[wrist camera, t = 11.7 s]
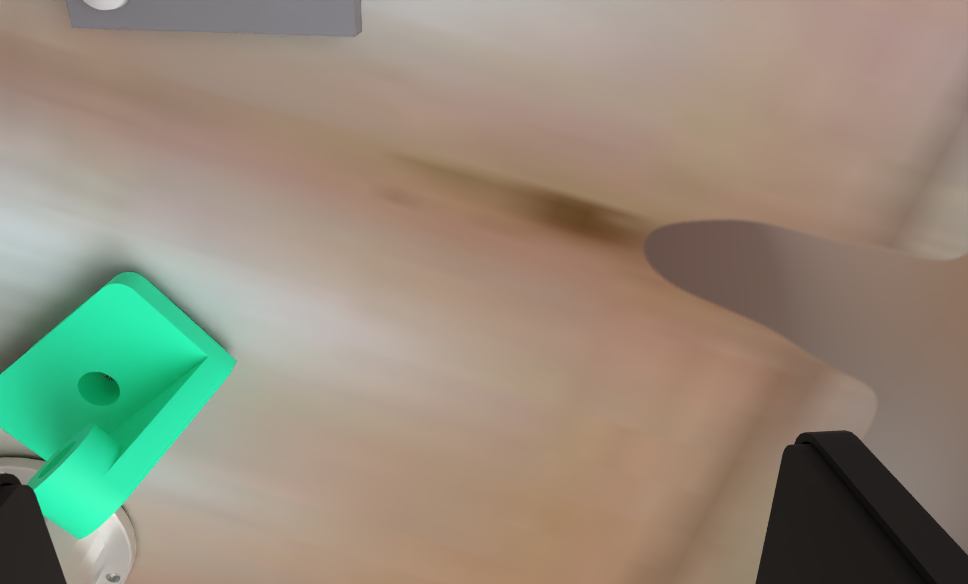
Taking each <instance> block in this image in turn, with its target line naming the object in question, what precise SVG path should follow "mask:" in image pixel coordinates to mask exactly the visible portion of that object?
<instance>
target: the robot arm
mask: <svg viewBox="0 0 968 584" xmlns="http://www.w3.org/2000/svg"><path fill="white" fill-rule="evenodd" d="M45 462H46V461H41V460H35V459H29V458H11V457H2V458H0V584H124V582H125V581H126V579H127V577H128V575H129V573H130V571H131V569H132V567H133V564H134V561H135V557H136V544H137V541H136V537H135V533H134V528H133V526H132V524H131V522H130V520H129V518H128V516H127V514H126V512H125V511H124V510H123V509H122V507H121V506H120V508H119V509H118V510H117V511H116V512H115V513H114V514H113V515H112V516H111V517H110V518H109V519H108V520H107V521H106V522H105V523H103V524H102V525H101V526H100V527H99V528H98V529H96V530H95V531H94V532H93V533H91V534H90V535H88V536H87V537H85V538H83V539H80V540H78V539H76V538H75V537H73V536H72V535H71V534H69V533H68V532H66V531H65V530H63V529H62V528H61V527H59V526H58V525H56V524H55V523H53V522H52V521H50V520H49V519H48V518H46V517H45V516H43V514H42V511H41V508H40V505H39V503H38V500H37V497H36V494H35V492H34V490H33V489H32V488H31V487H30V486H29V485H26V484H27V483H28V481H29V480H30V479H31V478H32V477H33V476H34V474H35V473H36V472H37V471H38V470H39V469H40V468H41V467H42V466H43V465H44V464H45ZM756 584H968V555H967V554H966V553H965V552H964V551H963V550H962V549H961V548H960V546H958V544H957V543H956V542H955V541H954V540H953V539H952V538H951V537H950V536H949V535H948V534H947V533H946V532H945V530H944V529H943V528H941V526H940V525H939V524H938V523H937V522H936V521H935V520H934V519H933V518H932V517H931V515H930V514H929V513H928V512H927V511H926V510H925V509H924V508H923V507H922V506H921V505H920V504H919V503H918V502H917V501H916V499H915V498H914V497H913V496H912V495H911V494H910V493H909V492H908V491H907V490H906V489H905V488H904V486H903V485H902V484H901V483H900V482H899V481H898V480H897V479H896V478H895V477H894V476H893V475H892V474H891V473H890V471H888V470H887V468H886V467H885V466H884V465H883V464H882V463H881V462H880V461H879V460H878V459H877V458H876V457H875V455H874V454H873V453H871V451H870V450H869V449H868V448H867V447H866V446H865V445H864V444H863V443H862V442H861V440H860V439H859V438H858V437H857V436H855V435H854V434H853V433H852V432H849V431H845V430H844V431H824V432H805V433H802V434H800V435H799V436H798V437H797V439H796V441H795V444H794V445H788V446H787V447H786V448H785V449H784V452H783V455H782V460H781V465H780V470H779V474H778V479H777V484H776V489H775V493H774V498H773V503H772V508H771V513H770V517H769V522H768V527H767V532H766V537H765V541H764V546H763V551H762V556H761V560H760V565H759V570H758V575H757V580H756Z"/></svg>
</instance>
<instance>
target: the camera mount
mask: <svg viewBox="0 0 968 584" xmlns="http://www.w3.org/2000/svg"><path fill="white" fill-rule="evenodd" d="M235 363H236V360H235V359H234V358H233V357H232V356H231V355H230V354H229V353H228V352H227V351H225V350H224V349H223V348H222V347H221V346H220V345H219V344H218V343H217V342H215V341H214V340H213V339H212V338H211V337H210V336H209V335H208V334H207V333H205V332H204V331H203V330H202V329H201V328H200V327H199V326H198V325H197V324H196V323H194V322H193V321H192V320H191V319H190V318H189V317H188V316H187V315H186V314H184V313H183V312H182V311H181V310H180V309H179V308H178V307H177V306H176V305H174V304H173V303H172V302H171V301H170V300H169V299H168V298H167V297H166V296H165V295H163V294H162V293H161V292H160V291H159V290H158V289H157V288H156V287H155V286H153V285H152V284H151V283H150V282H149V281H148V280H147V279H146V278H144V277H143V276H142V275H140V274H137V273H134V272H122V273H120V274H118V275H116V276H115V277H114V278H113V279H111V280H110V281H109V282H108V283H107V284H106V285H104V286H103V287H102V288H101V289H100V290H99V291H97V292H96V293H95V294H94V295H93V296H91V297H90V298H88V299H87V300H86V301H85V302H84V303H82V304H81V305H80V306H79V307H78V308H77V309H75V310H74V311H73V312H72V313H71V314H70V315H68V316H67V317H66V318H65V319H64V320H63V321H61V322H60V323H59V324H58V325H57V326H55V327H54V328H53V329H52V330H51V331H50V332H48V333H47V334H46V335H45V336H44V337H43V338H41V339H40V340H39V341H38V342H37V343H35V344H34V345H33V346H32V347H31V348H30V349H29V350H28V351H27V352H26V353H24V354H23V355H22V356H21V357H20V358H19V359H17V360H16V361H15V362H14V363H13V364H12V365H10V366H9V367H8V368H7V369H6V370H4V371H3V372H2V373H1V374H0V428H2V429H3V430H5V431H6V432H7V433H9V434H10V435H11V436H13V437H14V438H15V439H17V440H18V441H20V442H21V443H22V444H24V445H25V446H26V447H28V448H29V449H31V450H32V451H33V452H35V453H36V454H37V455H39V456H40V457H41V458H43V459H44V460H46V462H45V464H44V465H43V466H42V467H41V468H40V469H39V470H38V471H37V472H36V473H35V474H34V476H33V477H32V478H31V479H30V480H29V481H28V483H27V484H26V485H29V486H30V487H31V488H32V489H33V490H34V492H35V494H36V497H37V500H38V503H39V505H40V508H41V511H42V514H43V516H45V517H46V518H48V519H49V520H50V521H52V522H53V523H55V524H56V525H58V526H59V527H61V528H62V529H63V530H65V531H66V532H68V533H69V534H71V535H72V536H73V537H75V538H76V539H78V540H80V539H83V538H85V537H87V536H88V535H90V534H91V533H93V532H94V531H95V530H96V529H98V528H99V527H100V526H101V525H102V524H103V523H105V522H106V521H107V520H108V519H109V518H110V517H111V516H112V515H113V514H114V513H115V512H116V511H117V510H118V509H119V508H120V506H121V505H122V504H123V503H124V502H125V501H126V500H127V498H128V497H129V496H130V495H131V494H132V492H133V491H134V490H135V489H136V488H137V486H138V485H139V484H140V483H141V481H142V480H143V479H144V478H145V477H146V475H147V474H148V473H149V472H150V471H151V469H152V468H153V467H154V466H155V464H156V463H157V462H158V461H159V460H160V458H161V457H162V456H163V455H164V454H165V452H166V451H167V450H168V449H169V448H170V446H171V445H172V444H173V443H174V441H175V440H176V439H177V438H178V437H179V435H180V434H181V433H182V432H183V431H184V429H185V428H186V427H187V426H188V424H189V423H190V422H191V421H192V420H193V418H194V417H195V416H196V415H197V414H198V412H199V411H200V410H201V409H202V408H203V406H204V405H205V404H206V403H207V401H208V400H209V399H210V398H211V397H212V395H213V394H214V393H215V392H216V391H217V389H218V388H219V387H220V386H221V384H222V383H223V382H224V381H225V380H226V378H227V377H228V376H229V375H230V373H231V371H232V369H233V367H234V365H235ZM102 373H104V374H107V375H109V376H110V377H112V378H113V379H114V380H115V381H116V382H115V381H112V380H110V379H108V378H106V377H105V376H104V375H103V374H102Z"/></svg>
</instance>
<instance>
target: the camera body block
mask: <svg viewBox="0 0 968 584" xmlns="http://www.w3.org/2000/svg"><path fill="white" fill-rule="evenodd" d="M66 1H67V6H68V11H69V16H70V21H71V26H72V28H91V29H123V30H155V31H188V32H220V33H253V34H285V35H317V36H350V37H355V36H357V35H358V34H359V33H361V32H362V21H361V0H66Z"/></svg>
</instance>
